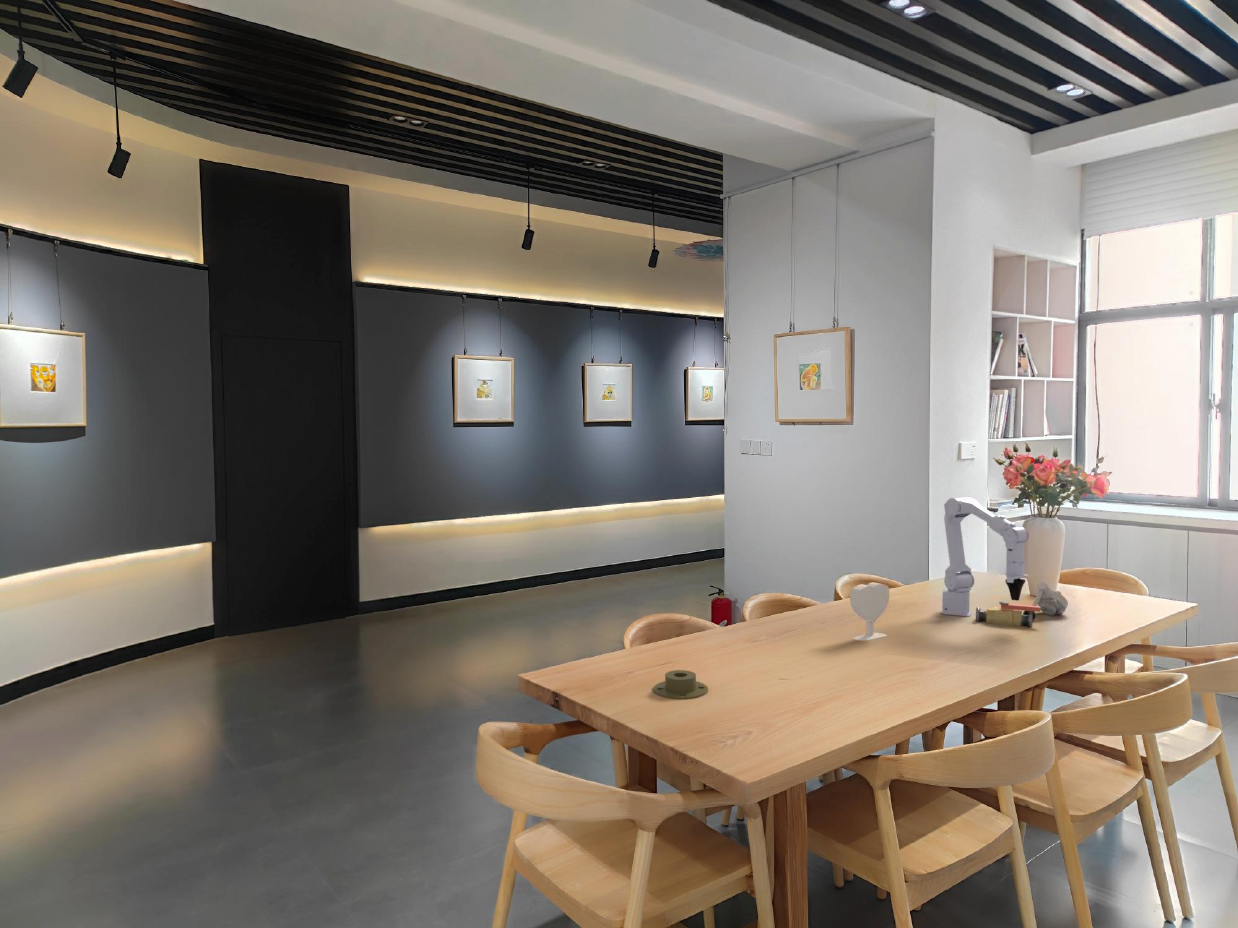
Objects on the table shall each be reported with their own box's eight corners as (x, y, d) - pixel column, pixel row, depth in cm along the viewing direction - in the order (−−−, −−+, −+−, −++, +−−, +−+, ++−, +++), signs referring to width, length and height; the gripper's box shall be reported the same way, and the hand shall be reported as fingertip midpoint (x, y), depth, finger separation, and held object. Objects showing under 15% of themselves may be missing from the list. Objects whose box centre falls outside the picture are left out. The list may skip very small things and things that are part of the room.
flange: (703, 665, 230) (651, 667, 230) (711, 682, 215) (655, 684, 215) (703, 682, 231) (651, 683, 230) (711, 699, 216) (655, 701, 215)
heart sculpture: (879, 631, 281) (879, 580, 280) (891, 634, 276) (891, 582, 276) (848, 638, 273) (848, 585, 272) (859, 641, 268) (859, 588, 267)
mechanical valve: (1073, 607, 300) (1057, 579, 295) (1055, 644, 293) (1038, 617, 287) (1046, 604, 309) (1029, 577, 304) (1028, 640, 301) (1011, 613, 296)
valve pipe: (975, 625, 292) (975, 608, 292) (977, 621, 297) (977, 604, 297) (1031, 630, 283) (1031, 613, 283) (1032, 627, 288) (1032, 609, 288)
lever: (999, 608, 289) (999, 602, 289) (999, 607, 292) (999, 601, 292) (1040, 612, 283) (1040, 606, 283) (1040, 610, 286) (1040, 604, 286)
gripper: (1022, 565, 273) (1022, 605, 274) (1033, 559, 285) (1033, 597, 285) (1000, 563, 278) (1000, 602, 279) (1011, 557, 289) (1011, 595, 290)
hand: (1015, 599), depth 282 cm, fingers closed
